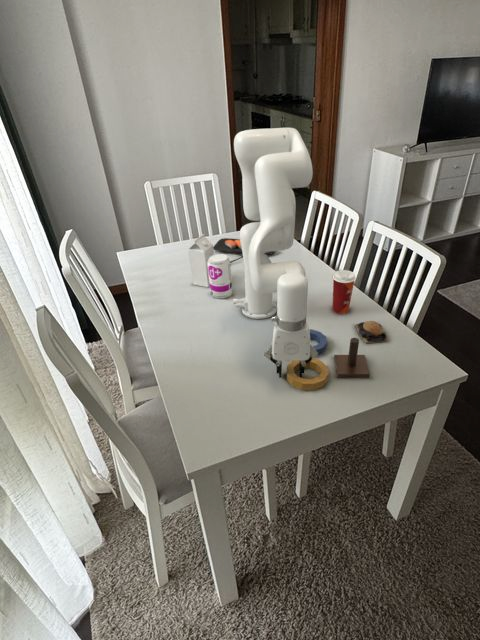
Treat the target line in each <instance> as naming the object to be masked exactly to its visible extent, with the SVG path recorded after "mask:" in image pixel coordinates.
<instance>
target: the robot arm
mask: <svg viewBox="0 0 480 640" xmlns="http://www.w3.org/2000/svg"><path fill="white" fill-rule="evenodd" d="M233 151H234V155H235V158H236V160H237V163H238V165H239V168H240V171H241V177H242V179H241V181H242V183H241V184H242V207H243V213H244V216H245V218H246V219H247V220H249V221H252V222H250V223H245V224H244V225H242V227H241V228H240V230H239V239H240V243H241V247H242V253H241V254H242V256H243V258H242V259H243V260H242V261H243V274H244V276H243V277H244V293H245V296H244V297H242V298H233V300H232V302H233V305H235V306H236V308H241V312H242V314H243V315H245V316H246V317H247V318H250V319H255V320H263V319H268V318H271V322H273V323H274V327H273V330H272V341H271V345H269V347H267V348H266V350H264V352H263V357H265V358H266V359H268V360H269V361H270V362H271V363H273V364H274V365H275V367H276V374H278V378H279V379H282V376H283V375H282V374H283V370H282V369H283V367H282V366H283V362H284V361H285V362H286V361H287V362H291V361H299V370H298V373H299V374H298V377H301V378H303V374H305V371H306V370H305V369H306V368H305V366H306V364H307V363H309V362H310V361H311V360H312V359H316V358H317V357H318V356H319V355H318V352H317V351H316V350H315V349H314V348H313V345H312V344H311V339H310V330H309V329H310V326H309V325H310V324H309V323H308V322H307V317H308V315H307V313H308V312H307V311H308V294H309V292H308V291H309V280H308V278H307V277H306V269H305V267H304V266H303V264H302V263H301V262H300V261H297V260H290V261H283V262H281V261H279V262H273V263H272V261H271V259H270V258H269V257H268V255H267V254H264V253H266V252H271V251H274V252H278V251H285V250H289V249H291V248H292V246H293V245H294V241H295V229H296V227H295V226H296V207H297V206H296V204H297V203H296V202H297V201H296V196H295V192H294V190H293V189H299V188H306V187H309V185H310V184H311V182H312V180H313V175H314V172H313V169H314V168H313V164H312V159H311V156H310V153H309V150H308V148H307V146H306V144H305V142H304V140H303V138H302V135H301V134H300V132H299V130H297V128H295V127H274V128H271V127H270V128H256V129H255V128H253V129H245V130H242V131H239V132H237V133H236V134H235V136H234V139H233ZM273 294H276V299H277V300H276V303H275V302H274V301H273V299H274V298H273V297H274V295H273ZM275 314H276V315H275ZM310 353H311V354H310Z"/></svg>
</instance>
